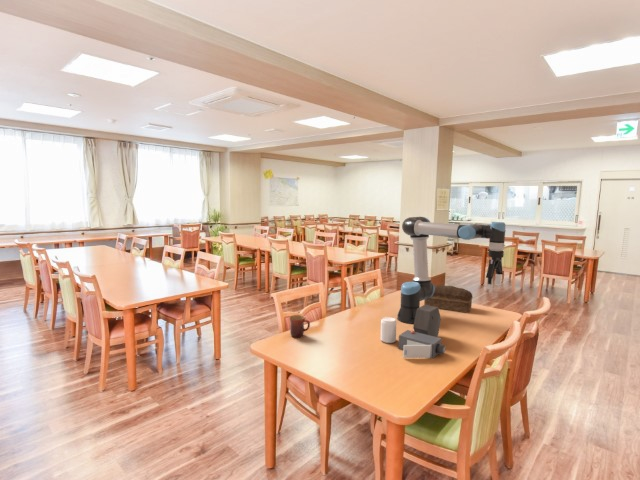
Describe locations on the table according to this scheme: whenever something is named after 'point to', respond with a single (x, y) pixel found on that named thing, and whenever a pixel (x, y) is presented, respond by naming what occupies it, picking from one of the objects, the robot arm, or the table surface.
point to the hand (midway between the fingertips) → (493, 287)
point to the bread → (450, 298)
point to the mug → (298, 325)
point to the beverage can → (388, 330)
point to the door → (417, 351)
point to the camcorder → (421, 341)
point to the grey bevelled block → (427, 320)
